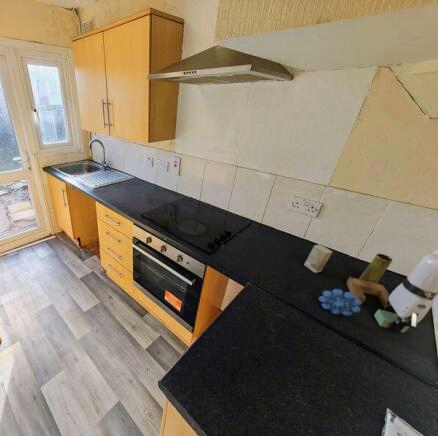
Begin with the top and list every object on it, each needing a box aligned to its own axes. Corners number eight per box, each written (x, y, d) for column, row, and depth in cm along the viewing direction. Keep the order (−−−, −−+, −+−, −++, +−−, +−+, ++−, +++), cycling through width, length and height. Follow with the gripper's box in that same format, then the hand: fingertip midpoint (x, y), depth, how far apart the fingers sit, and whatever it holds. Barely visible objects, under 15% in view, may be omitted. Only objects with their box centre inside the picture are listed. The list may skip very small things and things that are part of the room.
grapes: (352, 315, 87) (368, 293, 81) (350, 326, 83) (367, 304, 77) (317, 298, 94) (329, 276, 88) (313, 307, 90) (326, 286, 84)
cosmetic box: (303, 265, 112) (313, 245, 106) (309, 263, 113) (319, 243, 107) (315, 273, 107) (326, 253, 101) (322, 271, 108) (333, 251, 102)
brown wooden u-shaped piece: (378, 290, 98) (383, 285, 97) (392, 312, 89) (397, 306, 87) (345, 282, 102) (349, 276, 100) (355, 302, 92) (359, 296, 91)
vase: (374, 280, 104) (392, 256, 97) (377, 288, 99) (396, 263, 92) (357, 275, 107) (373, 251, 100) (360, 283, 102) (376, 258, 95)
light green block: (396, 321, 85) (402, 315, 83) (404, 332, 81) (410, 326, 79) (373, 315, 87) (378, 309, 86) (379, 325, 83) (385, 319, 81)
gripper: (453, 312, 67) (415, 347, 76) (418, 274, 81) (390, 308, 90) (420, 303, 69) (387, 339, 78) (392, 268, 83) (367, 302, 92)
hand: (389, 322), depth 84 cm, fingers open, 5 cm apart
